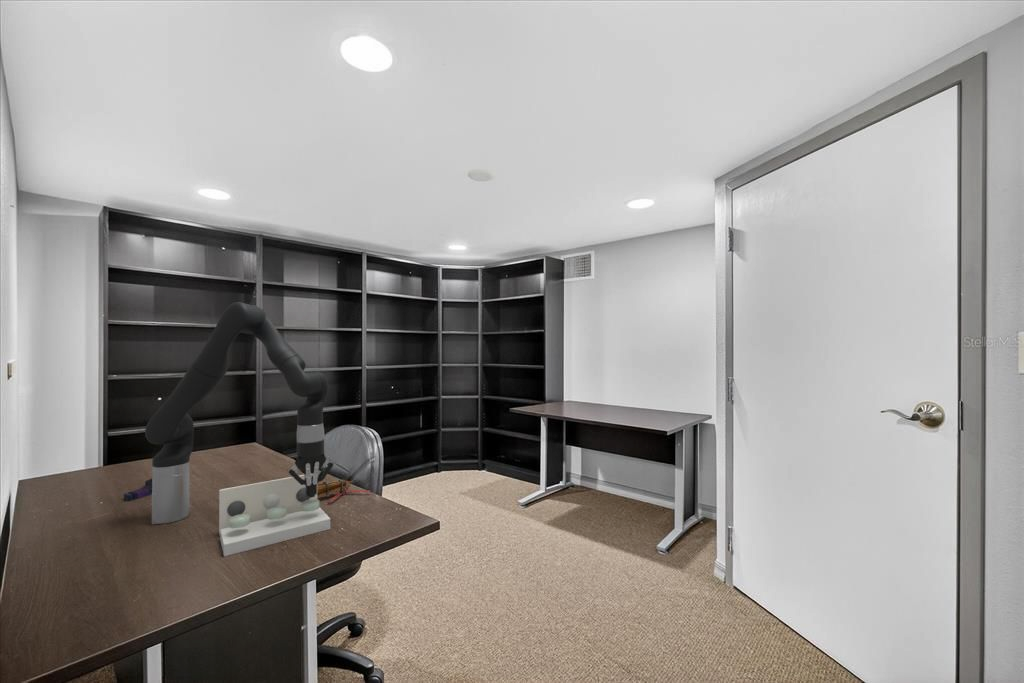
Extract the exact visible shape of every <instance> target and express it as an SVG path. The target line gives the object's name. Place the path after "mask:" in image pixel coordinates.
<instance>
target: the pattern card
mask: <svg viewBox="0 0 1024 683" xmlns="http://www.w3.org/2000/svg"><path fill="white" fill-rule="evenodd" d="M298 476H299V477H300V478H301V479H304V480H305V478H304V474H301V475H298ZM218 494H219V496H218V497H219V498H218V499H219V500H218V505H219V506H218V507H219V508H218V513H219V514H218V517H219V518H218V519H219V520H218V522H219V524H218V526H219V527H218V535H219V537H220V529H224V528H229V519H230V518H231V517H233V516H235V515H239V514H250V523H251V522H255V521H260V520H264V519H267V510H268V509H270V508H273V507H277V506H285V507H286V515H287V514H291V513H295V512H300V511H302V502H304V501H306V500H310V499H318V498H317V494H316V495H315V497H312V498H309V497H308V496H307V495H306V486H305V485H301V484H300V483H299V482H298V481H297V480H296V479H295V478H294V477H292V476H289V477H283V478H278V479H272V480H266V481H260V482H254V483H250V484H243V485H238V486H233V487H227V488H220V489H219V490H218Z"/></svg>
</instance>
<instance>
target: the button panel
mask: <svg viewBox="0 0 1024 683" xmlns="http://www.w3.org/2000/svg"><path fill="white" fill-rule="evenodd" d="M328 530H331V518H330V517H329V516H328V514H327V513H326V512H325V511H324V510H323V509H322V508H321V507H320V506H319V509H317V510H314V511H310V512H304V511H300V512H295V513H291V514H287V515H286V516H285V517H283V518H280V519H274V520H270V519H264V520H260V521H255V522H251V523H250V524H248V525H247V526H244V527H240V528H230V527H229V528H224V529H220V536H219V538H220V545H221V549H222V554H223V557H227V556H231V555H235V554H239V553H243V552H247V551H251V550H255V549H258V548H263V547H265V546H270V545H274V544H277V543H283V542H285V541H290V540H293V539H297V538H301V537H305V536H309V535H312V534H317V533H320V532H324V531H328Z"/></svg>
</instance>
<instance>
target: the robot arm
mask: <svg viewBox="0 0 1024 683" xmlns="http://www.w3.org/2000/svg"><path fill="white" fill-rule="evenodd" d="M240 333H242V334H247V335H252V336H253V337H255V338H256V339H257V340H259V341H260V342H261V343H262V344H263V345H264V347H265V351H266V355H267V357H268V360H270V362H271V363H272V364H273V365H274V366H275V368H276V369H277V370H278V371H279V372H280V373H281V374H282V375H283V376H284V379H285V381H286V383H287V385H288V387H289V389H290V390H291V392H292V393H293V394H295V395H296V396H298V397H301V398H305V397H306V400H305V402H304V403H303V404H300V405H299V406H298V408H297V411H296V412H297V413H296V414H297V417H296V418H297V424H296V426H297V428H296V459H295V461H294V465H292V466H291V468H290V467H289V468H287V472H288V473H289V475H290V477H294V478H295V479H296V480H297V481H298V482H299V483H300V484H301V485H305V486H306V495H307V496H308V497H309V498H312V497H315V495H316V494H317V484H319V483H320V482H323V481H324V480H325V478H326V477H327V475H328V473H329V472H330V470H332V469H333V466H334V463H333V462H332V461H331V460H330V461H329V460H327V457H326V455H325V436H326V435H325V427H324V412H323V411H324V407H325V404H326V400H327V395H328V391H329V382H328V378H327V376H326V375H325V374H324V373H322V372H321V371H320V372H319V371H314V372H305V368H306V362H305V360H304V359H303V358H302V357H301V356H300V354H298V352H296V351H295V350H294V348H292V346H291V345H289V343H288V342H287V341H286V340H285V339H284V337H283V336H282V335H281V334H280V332H279V331H278V329H277V328H276V326H275V325H274V323H273V322H272V320H271V319H270V317H269V316H268V315H267V313H266V311H265V310H263V309H262V308H261V307H259V306H257V305H251V304H248V303H244V302H240V301H239V302H238V301H237V302H233V303H231V304H229V306H227V307H226V308H225V310H223V313H222V315H220V317H219V319H218V321H217V324H216V326H215V327H214V329H213V330H212V334H210V336H209V338H208V340H207V341H206V343H205V344H204V346H203V348H202V349H201V351H200V352H199V354H198V355H196V356H197V357H195V359H194V361H193V362H192V363H191V365H190V366H189V367H188V368H187V370H186V372H185V374H184V375H183V377H182V379H181V380H180V381H179V382H178V383H177V385H176V387H175V388H174V389H173V391H172V392H171V394H170V395H169V396H168V398H167V399H166V400H165V401H164V403H163V404H162V405H161V406H160V407H159V408H158V410H157V411H156V412H155V413H154V414H153V415H152V416H151V417H150V419H149V421H148V422H147V424H146V426H145V430H144V433H145V434H144V436H145V439H146V440H147V441H148V442H149V443H150V444H153V445H163V446H162V448H161V450H160V451H159V452H157V454H155V455H154V456H153V457H152V461H151V462H152V465H151V466H152V467H151V469H152V470H151V471H152V473H151V474H152V477H151V479H152V494H151V525H157V524H158V525H159V524H160V525H161V524H167V523H168V524H169V523H174V522H178V521H180V520H184V519H186V518H187V517H189V516H190V508H191V507H190V499H191V498H190V495H191V494H190V486H191V485H190V466H191V465H190V457H191V454H192V453H193V450H194V449H193V448H194V437H195V436H194V432H195V427H194V426H195V425H194V421H193V418H192V417H191V415H190V414H189V412H190V411H191V409H192V408H194V407H195V406H196V405H197V404H198V403H200V402H201V401H203V400H204V399H205V398H206V397H207V396H209V395H210V394H211V393H212V392H213V391H214V390H215V389H216V388H217V387H218V386H219V384H220V383H221V382H222V380H223V378H224V377H225V376H226V374H227V372H228V370H229V369H228V368H229V361H230V360H229V355H230V354H229V353H230V352H229V351H230V348H231V346H232V344H233V342H234V341H235V339H236V338H237V337H238V335H239V334H240ZM322 467H323V468H322ZM320 470H321V471H320ZM298 471H300V472H301V473H302V474H303V475H304V478H305V480H304V479H301V478H300V477H299V475H298ZM319 471H320V472H319Z"/></svg>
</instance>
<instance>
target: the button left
mask: <svg viewBox="0 0 1024 683" xmlns="http://www.w3.org/2000/svg"><path fill="white" fill-rule="evenodd" d="M248 524H250V514H239V515H235V516H233V517H231V518H230V519H229V527H230V528H240V527H244V526H247V525H248Z"/></svg>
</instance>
